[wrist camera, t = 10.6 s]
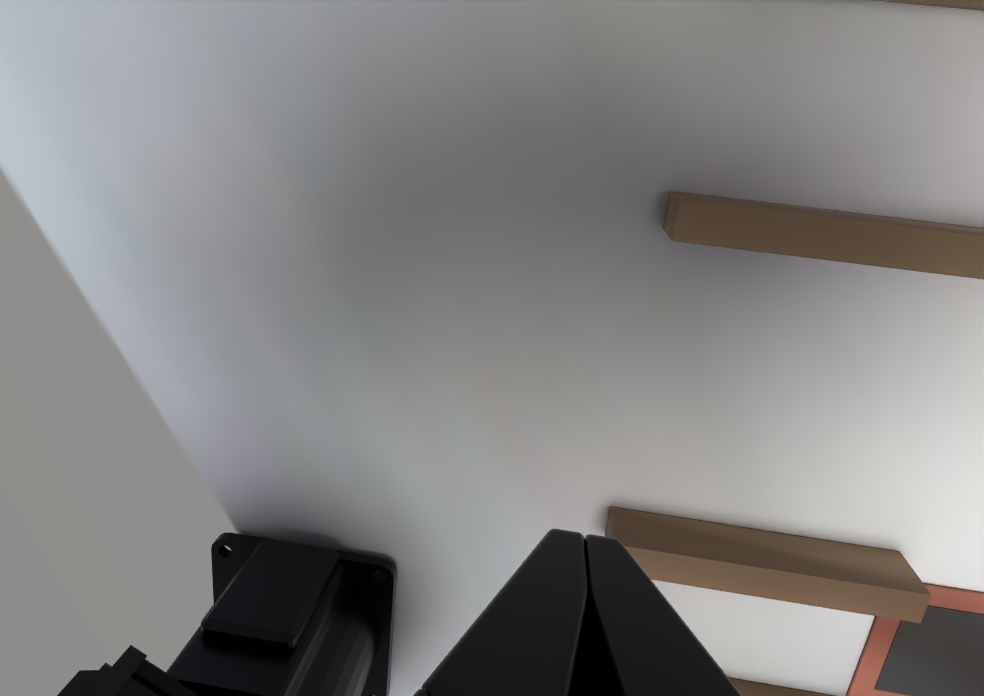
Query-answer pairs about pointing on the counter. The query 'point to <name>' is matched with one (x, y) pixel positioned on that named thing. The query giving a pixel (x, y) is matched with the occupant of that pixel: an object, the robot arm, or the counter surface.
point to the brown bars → (807, 561)
